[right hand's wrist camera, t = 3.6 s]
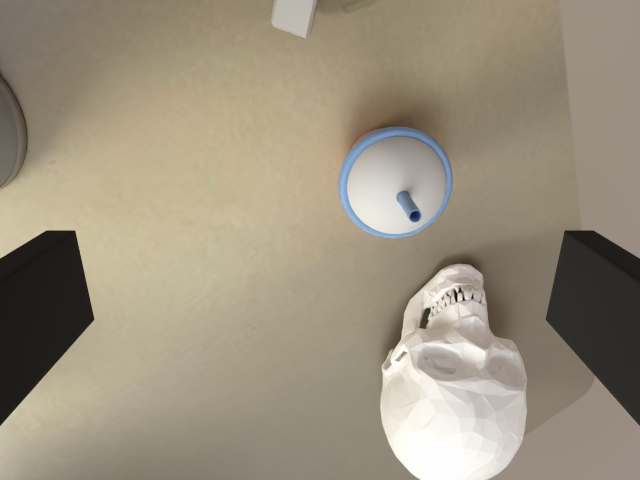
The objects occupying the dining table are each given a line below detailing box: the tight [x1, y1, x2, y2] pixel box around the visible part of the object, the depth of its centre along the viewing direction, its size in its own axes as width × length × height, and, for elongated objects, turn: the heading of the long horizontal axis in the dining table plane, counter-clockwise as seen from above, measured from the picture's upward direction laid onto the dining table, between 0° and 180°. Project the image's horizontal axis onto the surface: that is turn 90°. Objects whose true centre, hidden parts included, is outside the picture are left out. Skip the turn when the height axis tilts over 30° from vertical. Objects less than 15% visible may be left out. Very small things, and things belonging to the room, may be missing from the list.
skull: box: [380, 264, 527, 480], centre depth 46 cm, size 13×22×16 cm, turn 176°
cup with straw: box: [338, 126, 453, 238], centre depth 37 cm, size 9×9×18 cm
